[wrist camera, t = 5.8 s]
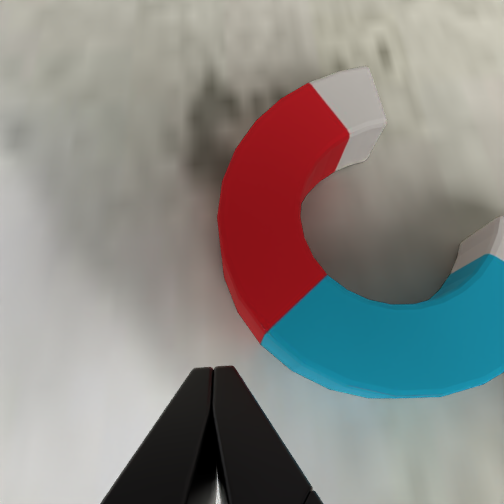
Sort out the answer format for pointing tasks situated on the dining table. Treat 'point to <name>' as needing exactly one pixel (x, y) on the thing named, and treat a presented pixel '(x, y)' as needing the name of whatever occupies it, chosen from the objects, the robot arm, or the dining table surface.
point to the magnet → (327, 289)
